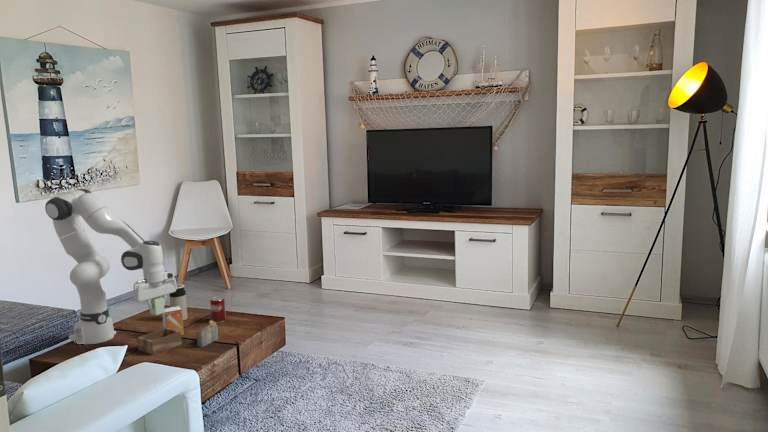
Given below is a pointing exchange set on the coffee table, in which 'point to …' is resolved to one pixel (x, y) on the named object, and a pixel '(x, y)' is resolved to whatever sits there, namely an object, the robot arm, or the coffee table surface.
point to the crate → (159, 341)
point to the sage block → (157, 305)
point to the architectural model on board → (207, 334)
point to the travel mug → (179, 300)
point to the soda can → (218, 309)
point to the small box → (173, 319)
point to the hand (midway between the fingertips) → (157, 306)
